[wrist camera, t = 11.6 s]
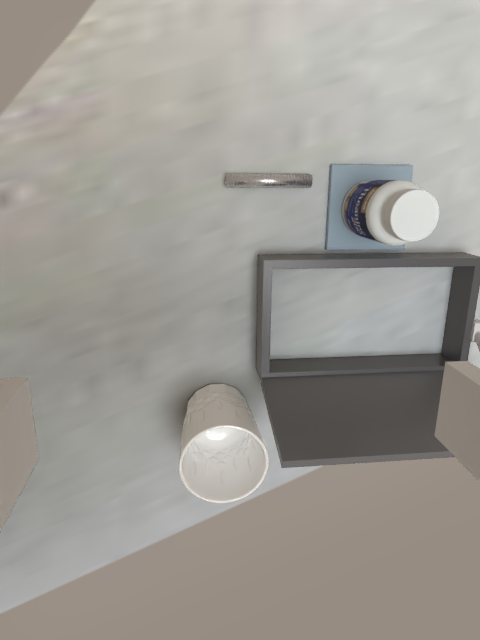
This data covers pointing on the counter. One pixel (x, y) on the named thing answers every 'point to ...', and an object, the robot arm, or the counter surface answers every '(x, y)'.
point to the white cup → (221, 446)
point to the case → (362, 375)
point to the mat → (339, 187)
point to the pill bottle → (390, 211)
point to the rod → (269, 180)
